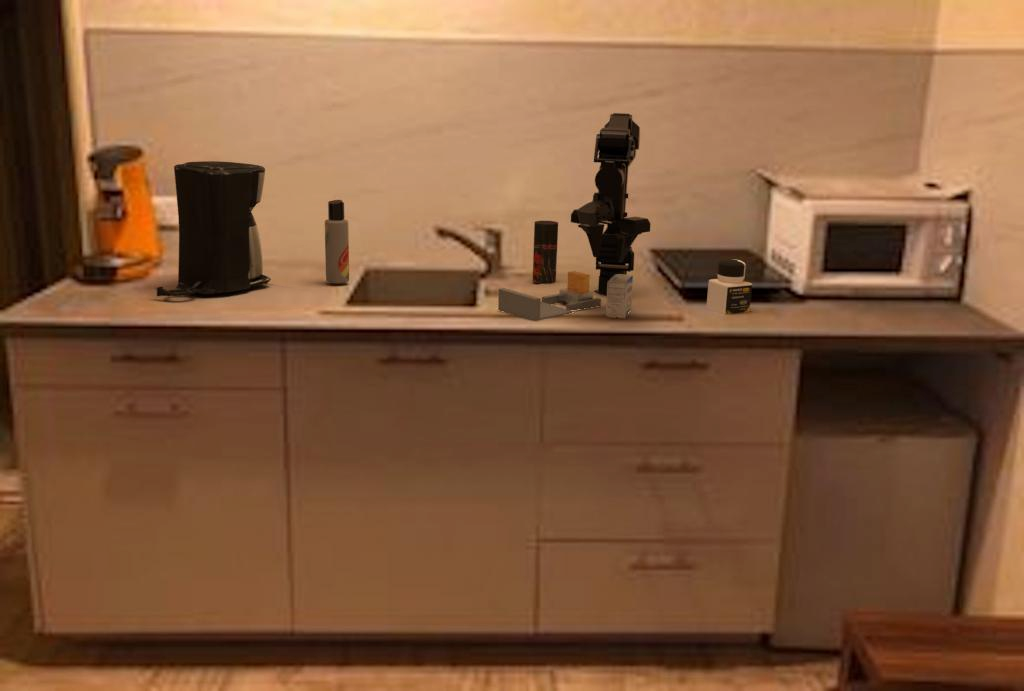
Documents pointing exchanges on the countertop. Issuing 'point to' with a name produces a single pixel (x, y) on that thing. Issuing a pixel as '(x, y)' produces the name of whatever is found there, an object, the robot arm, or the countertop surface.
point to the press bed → (538, 305)
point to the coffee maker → (218, 227)
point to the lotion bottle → (336, 244)
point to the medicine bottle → (729, 289)
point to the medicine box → (619, 295)
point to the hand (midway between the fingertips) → (607, 259)
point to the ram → (576, 288)
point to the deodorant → (545, 251)
